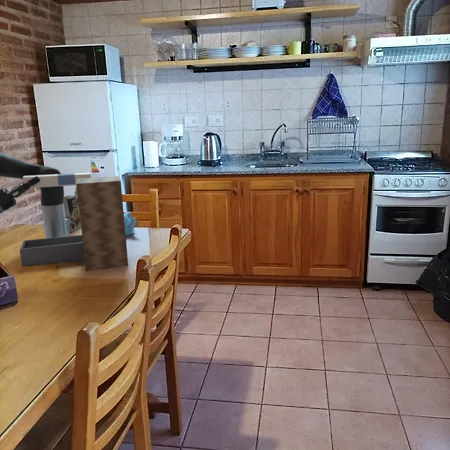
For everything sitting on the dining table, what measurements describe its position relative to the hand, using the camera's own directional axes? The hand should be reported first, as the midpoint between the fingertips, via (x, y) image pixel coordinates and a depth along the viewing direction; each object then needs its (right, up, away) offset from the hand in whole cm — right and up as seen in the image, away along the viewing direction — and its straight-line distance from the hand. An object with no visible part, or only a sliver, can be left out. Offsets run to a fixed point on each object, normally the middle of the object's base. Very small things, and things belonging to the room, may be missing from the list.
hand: (39, 177), depth 164 cm
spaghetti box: (+6, -3, +3) cm, 7 cm away
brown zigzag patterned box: (+25, -32, +2) cm, 41 cm away
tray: (+7, -31, +10) cm, 33 cm away
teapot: (+20, -22, +40) cm, 50 cm away
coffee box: (-6, -20, +51) cm, 55 cm away
